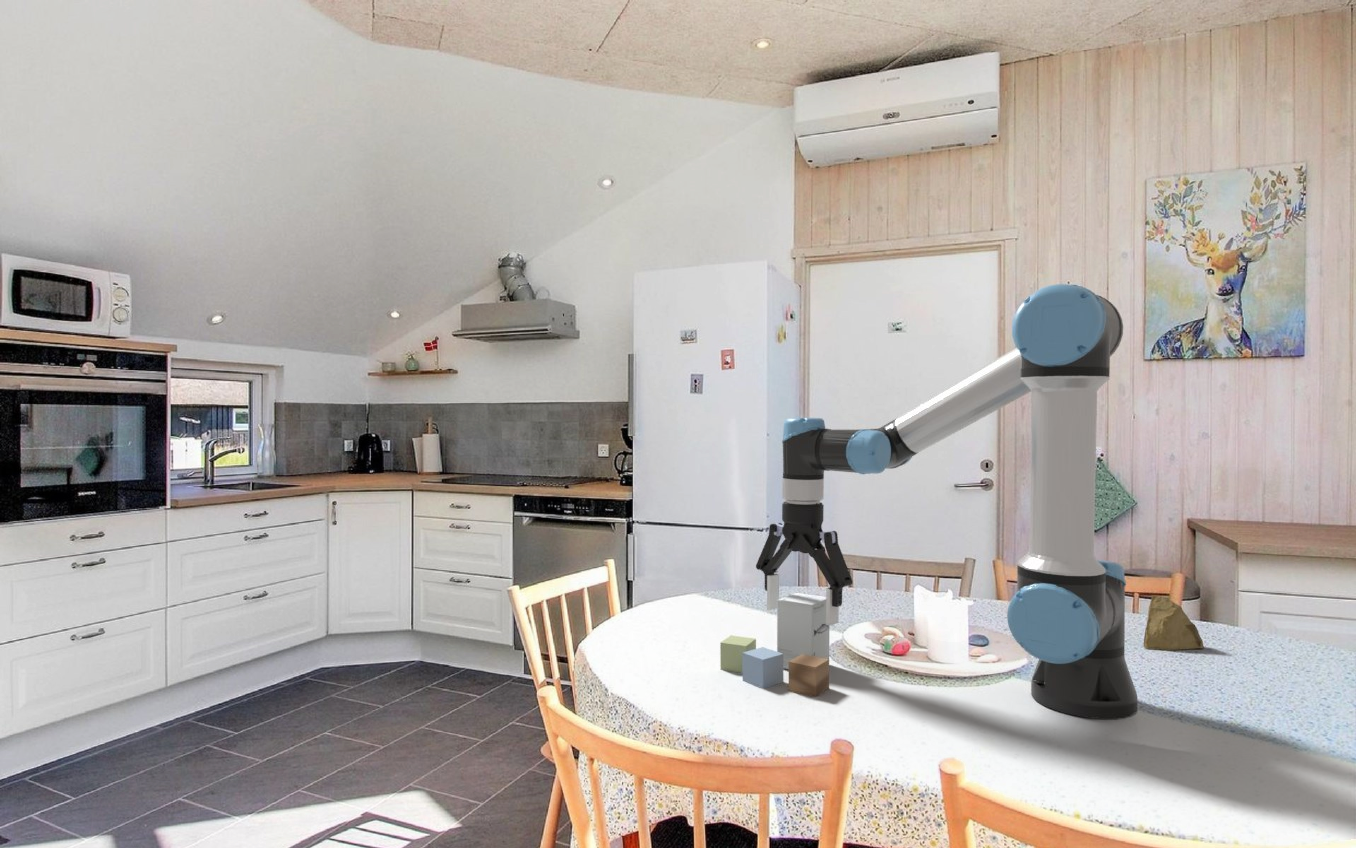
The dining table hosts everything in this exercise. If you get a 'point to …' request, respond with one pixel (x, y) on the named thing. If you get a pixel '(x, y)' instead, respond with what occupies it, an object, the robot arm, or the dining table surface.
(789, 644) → the supplement box
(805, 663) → the walnut cube
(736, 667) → the olive cube
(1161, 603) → the rock
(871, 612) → the dining table surface
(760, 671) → the slate blue cube
